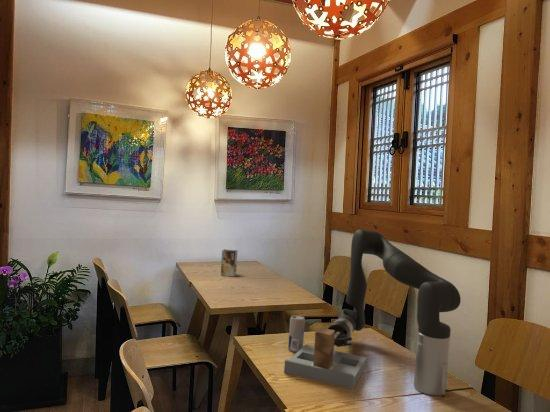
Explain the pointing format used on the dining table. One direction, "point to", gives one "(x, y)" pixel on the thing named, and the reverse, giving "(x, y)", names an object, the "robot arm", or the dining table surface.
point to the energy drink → (296, 333)
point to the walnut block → (324, 348)
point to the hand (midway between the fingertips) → (326, 345)
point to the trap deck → (339, 374)
